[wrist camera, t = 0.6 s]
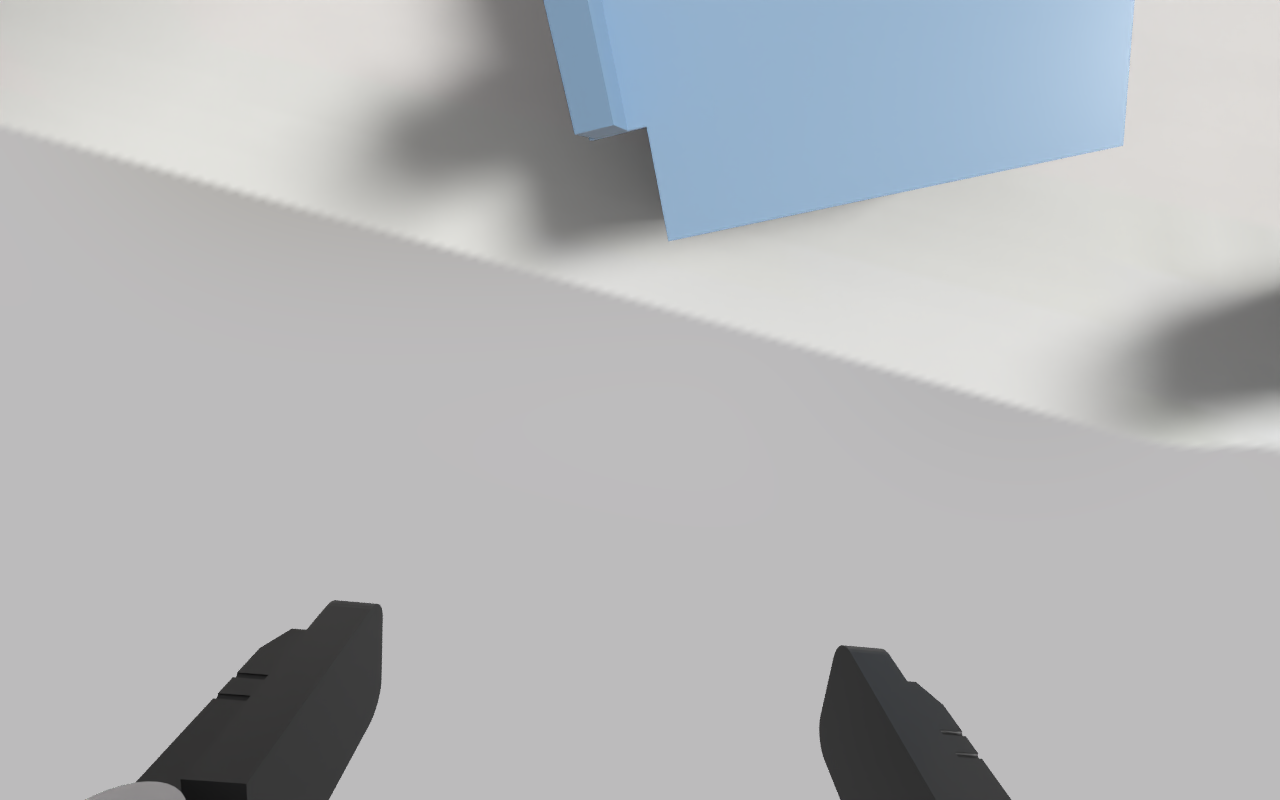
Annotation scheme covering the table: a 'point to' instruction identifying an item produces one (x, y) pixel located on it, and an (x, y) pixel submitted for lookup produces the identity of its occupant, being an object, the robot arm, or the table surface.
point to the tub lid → (839, 94)
